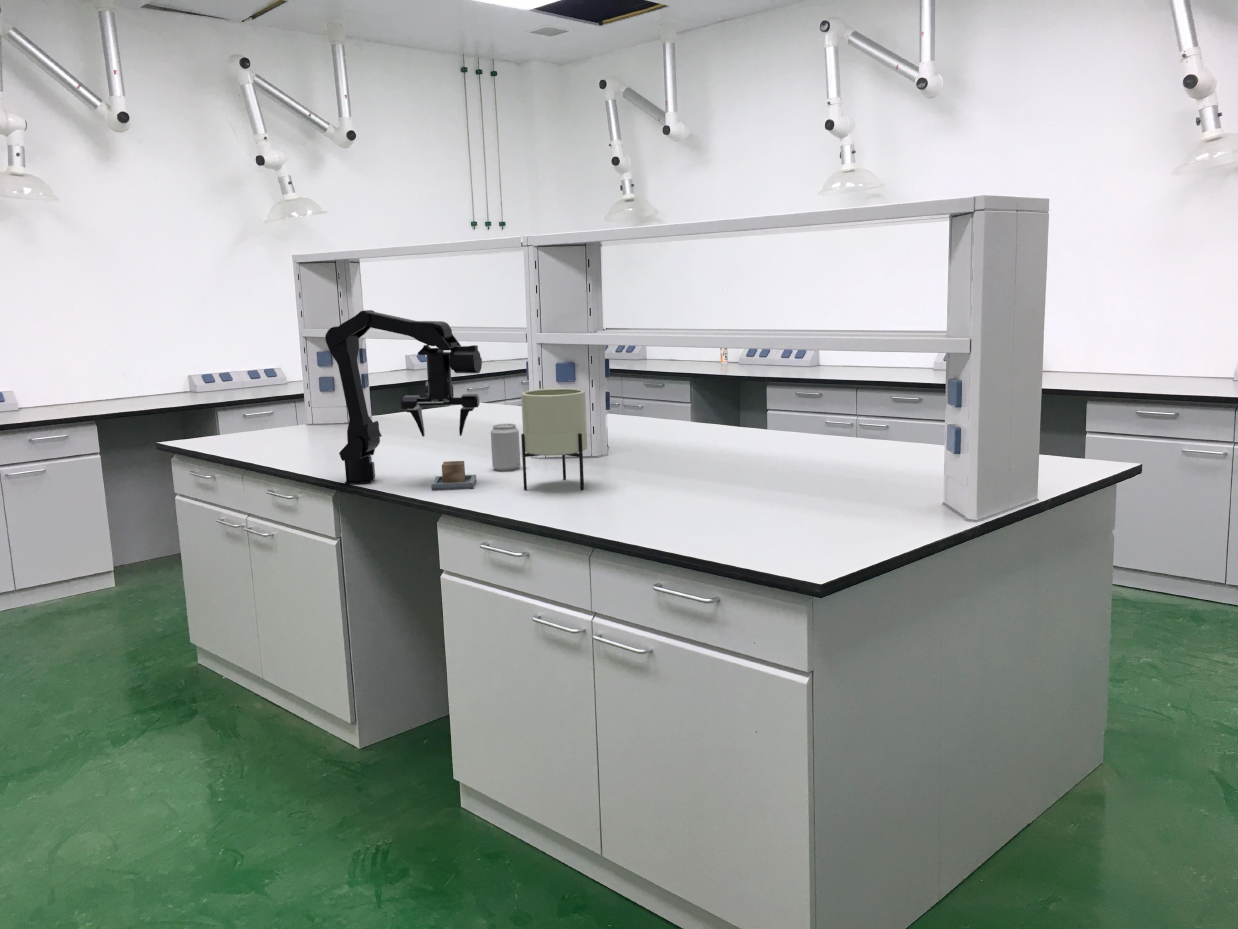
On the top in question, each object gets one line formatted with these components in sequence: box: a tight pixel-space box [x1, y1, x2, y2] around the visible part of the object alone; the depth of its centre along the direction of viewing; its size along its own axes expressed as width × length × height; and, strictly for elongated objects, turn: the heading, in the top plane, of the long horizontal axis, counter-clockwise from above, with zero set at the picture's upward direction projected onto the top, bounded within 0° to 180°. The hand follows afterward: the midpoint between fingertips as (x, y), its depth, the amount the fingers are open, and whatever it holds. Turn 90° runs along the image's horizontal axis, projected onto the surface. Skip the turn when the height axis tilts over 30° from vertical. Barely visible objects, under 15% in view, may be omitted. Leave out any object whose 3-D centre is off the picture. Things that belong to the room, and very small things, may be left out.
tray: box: [431, 474, 477, 491], centre depth 241 cm, size 10×10×2 cm
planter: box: [520, 388, 588, 491], centre depth 234 cm, size 15×16×23 cm
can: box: [490, 423, 521, 472], centre depth 259 cm, size 8×8×12 cm
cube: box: [441, 460, 466, 483], centre depth 241 cm, size 5×5×5 cm
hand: (442, 435), depth 243 cm, fingers open, 9 cm apart
